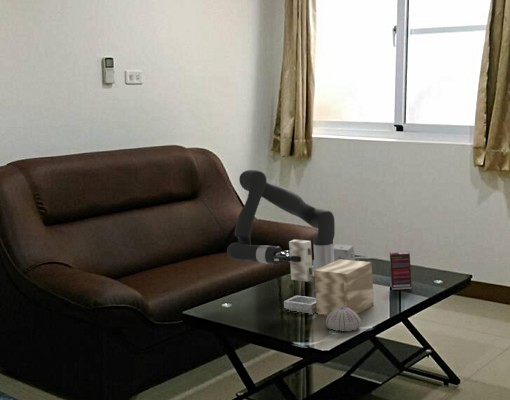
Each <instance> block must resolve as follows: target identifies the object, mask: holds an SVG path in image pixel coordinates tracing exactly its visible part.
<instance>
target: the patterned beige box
mask: <svg viewBox="0 0 510 400" xmlns="http://www.w3.org/2000/svg"><path fill="white" fill-rule="evenodd" d="M372 264H373V263H372V261H364V260H363V261H361V260H355V261H353V260H343V259H339V260H337V261H335V262H332V263H330V264H328V265H326V266H323V267H321V268H319V269H316V270H314V274H313V276H312V280H311V282H312V285H313V284H314V287H315V289H313V290H312V296H313V298H316V308H317V312H316V314H317V313H318V314H317V315H321V314H324V315H323V316H328V315H329V314H330V313H331V312H332V311H334V309H336V308H338V307H348V308H350V309H351V310H353V311H354V312H355V313H356V314H357V315H358V314H361V313H362V312H364V311H365V310H367V309H370V307H373V306H374V303H375V302H374V284H373V283H374V282H373V265H372Z"/></svg>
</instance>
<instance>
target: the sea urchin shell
mask: <svg viewBox="0 0 510 400" xmlns="http://www.w3.org/2000/svg"><path fill="white" fill-rule="evenodd" d="M326 316H327V317H326V318H325V319H326V320H325V326H326V328H328V329H330V330H331V329H333V330H332V331H334V330H340V331H339V332H341V331H342V332H343V331H344V332H347V331H348V332H352V330H354V331H355V330H358V329H359V328H360V326H361V323H362V322H361V318H360V317H359V315H358V314H356V313H355V312H354V311H353V310H351V309H350V308H348V307H338V308H336V309H334V311H332V312H331V313H330V314H329V315H326Z"/></svg>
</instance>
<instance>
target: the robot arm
mask: <svg viewBox="0 0 510 400" xmlns="http://www.w3.org/2000/svg"><path fill="white" fill-rule="evenodd" d="M239 184H240V186H241V187H242V189H244V190H245V191H247V192H248V195H247V199H246V201H245V203H244V206H243V207H242V208H241V210H240V213H239V214H238V217H237V220H236V225H235V229H234V236H235V237H237V239H238V240H237V241H238V242H232V243H231V244H229V245H228V246H227V249H226V254H227V256H228V257H229V258H231V259H232V260H233V259H234V260H238V261H251V262H255V263H263V264H269V265H276V266H277V265H280V264H288V263H289V264H290V262H301V257H299V256H291V255H290V250H283V248H281V247H280V246H279V245H278V246H276V245H259V244H252V243H251V242H252V239H251V234H252V231H253V230H252V229H253V227H254V220H255V216H256V213H257V210H258V208H259V205H260V203H261V199H262V198H263V199H265V200H266V201H268V202H269V203H271V204H273V205H275V206H276V207H277V208H279V209H280V210H283V211H285V212H286V213H288V214H289V215H293V216H295V217H297V218H300V219H301V220H303V221H304V222H305V223H307V224H308V225H309V226H311V227H312V228H314V229H317V236H314V237H313V239H312V240H313V243H312V245H313V256H314V257H313V258H314V259H312V271H313V275H314V270H316V269H319V268H321V267H323V266H326V265H328V264H330V263H332V262H334V246H335V245H334V239H335V233H336V232H335V231H336V230H335V229H336V228H335V226H336V225H335V216H334V213H333V212H332V211H330V210H328V209H323V208H317V207H314V206H312V205H309V203H306V202H305V201H304V200H303V198H302V197H301V196H300V195H298V193H296V192H294V191H292V190H290V189H288V188H286V187H284V186H281V185H278V184H276V183H275V184H274V183H271V182H269V181H267V176H266V174H265V173H264V172H263V171H262V170H257V169H255V170H254V169H248V170H245V171H243V172H242V173H241V174H240V175H239Z"/></svg>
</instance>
